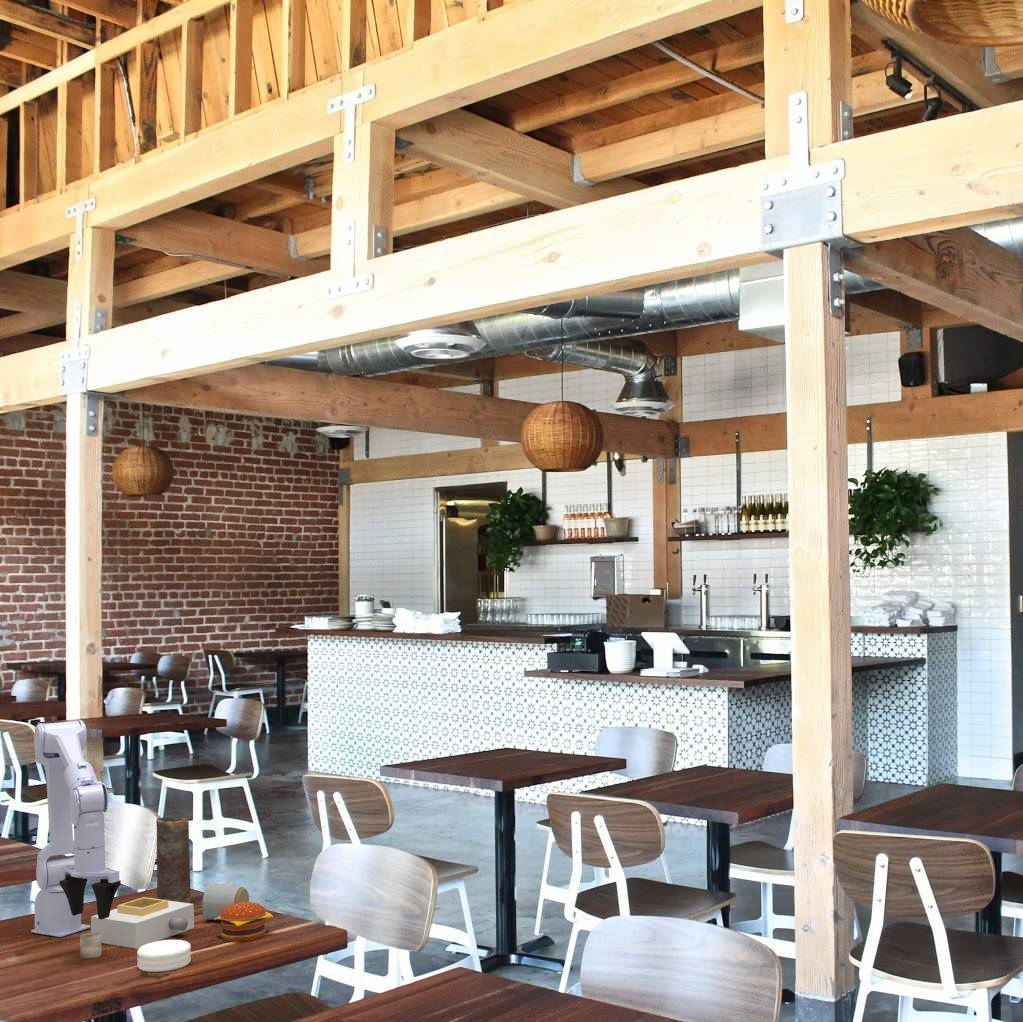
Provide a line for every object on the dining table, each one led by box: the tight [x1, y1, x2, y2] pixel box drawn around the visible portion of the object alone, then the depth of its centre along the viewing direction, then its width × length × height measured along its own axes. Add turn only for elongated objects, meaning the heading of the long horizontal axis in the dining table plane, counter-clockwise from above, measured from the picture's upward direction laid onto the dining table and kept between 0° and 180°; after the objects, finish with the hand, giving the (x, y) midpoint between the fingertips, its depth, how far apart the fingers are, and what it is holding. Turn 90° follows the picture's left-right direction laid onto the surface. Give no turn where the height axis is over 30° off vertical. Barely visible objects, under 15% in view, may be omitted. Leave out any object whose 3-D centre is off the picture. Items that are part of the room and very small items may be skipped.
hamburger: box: [213, 901, 274, 943], centre depth 252 cm, size 9×10×7 cm
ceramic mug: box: [201, 882, 250, 921], centre depth 267 cm, size 11×8×8 cm
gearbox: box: [90, 896, 195, 950], centre depth 255 cm, size 16×16×6 cm
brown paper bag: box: [156, 816, 192, 903], centre depth 277 cm, size 8×7×20 cm
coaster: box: [136, 939, 192, 973], centre depth 234 cm, size 10×10×4 cm
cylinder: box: [79, 932, 103, 960], centre depth 242 cm, size 4×4×4 cm
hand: (90, 916), depth 242 cm, fingers open, 7 cm apart
